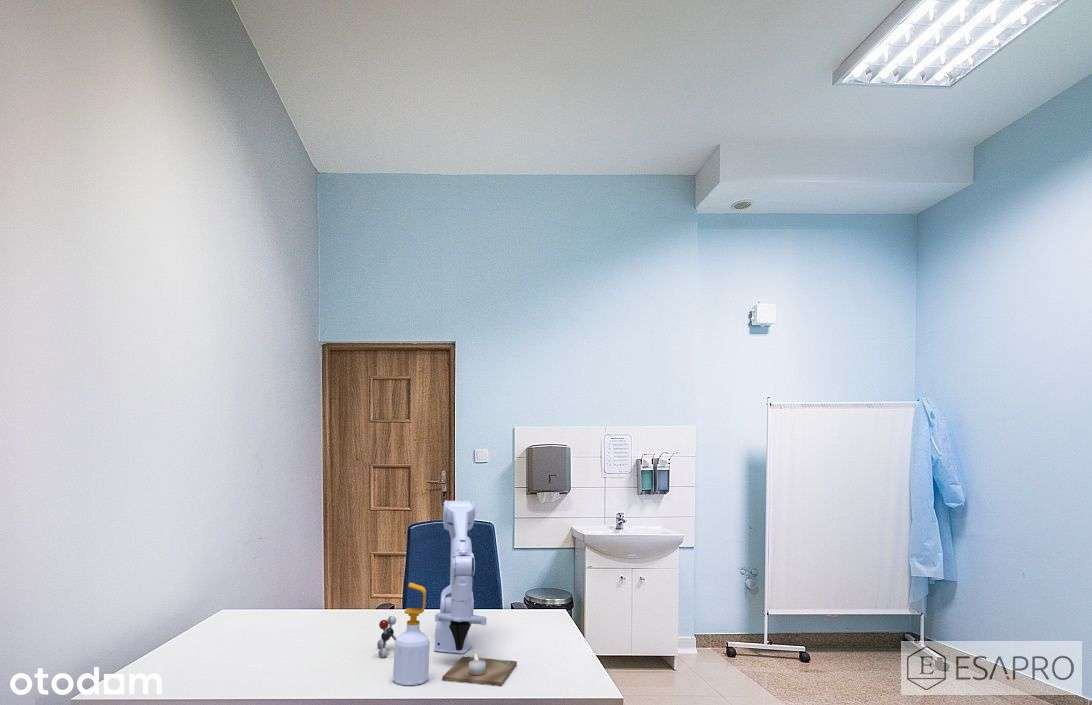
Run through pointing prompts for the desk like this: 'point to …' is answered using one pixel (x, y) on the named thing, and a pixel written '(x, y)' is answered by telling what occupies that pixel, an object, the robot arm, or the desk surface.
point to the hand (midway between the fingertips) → (459, 649)
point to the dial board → (493, 675)
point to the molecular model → (386, 635)
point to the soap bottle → (412, 649)
